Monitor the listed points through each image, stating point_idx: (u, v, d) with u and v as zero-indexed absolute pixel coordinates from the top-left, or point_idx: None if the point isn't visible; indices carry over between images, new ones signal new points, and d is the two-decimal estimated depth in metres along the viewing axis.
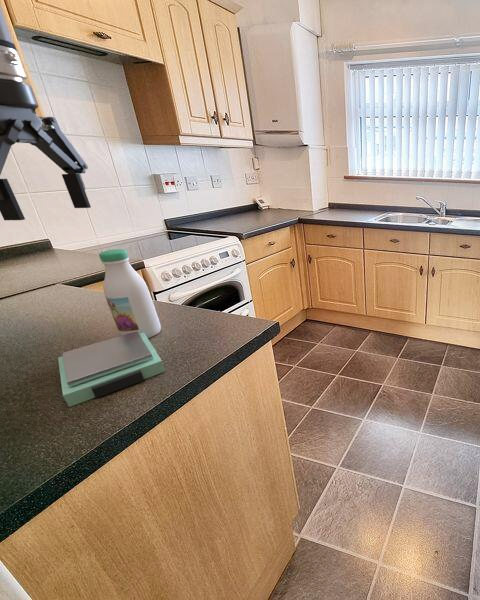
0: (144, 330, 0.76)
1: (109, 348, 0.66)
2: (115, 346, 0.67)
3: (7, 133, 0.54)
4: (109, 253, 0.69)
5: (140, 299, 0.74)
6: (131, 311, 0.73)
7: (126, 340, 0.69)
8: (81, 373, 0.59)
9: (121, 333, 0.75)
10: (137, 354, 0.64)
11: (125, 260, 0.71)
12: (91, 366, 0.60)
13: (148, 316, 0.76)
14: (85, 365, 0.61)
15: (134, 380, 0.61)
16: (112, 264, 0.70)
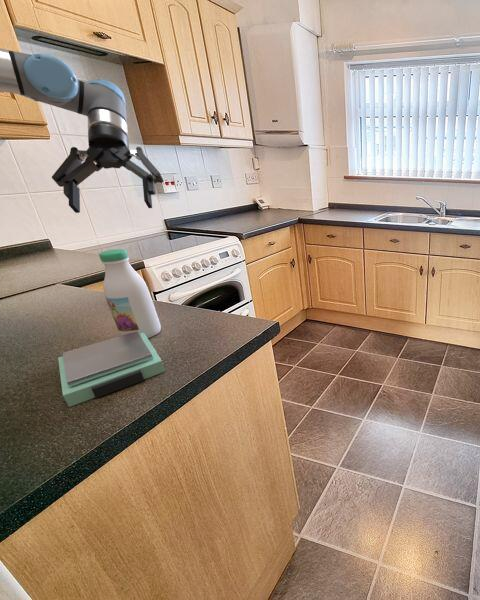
0: (144, 329, 0.76)
1: (109, 348, 0.66)
2: (115, 346, 0.67)
3: None
4: (109, 253, 0.69)
5: (139, 299, 0.74)
6: (131, 311, 0.73)
7: (126, 340, 0.69)
8: (81, 373, 0.59)
9: (121, 333, 0.75)
10: (137, 354, 0.64)
11: (125, 260, 0.71)
12: (91, 366, 0.60)
13: (148, 316, 0.76)
14: (85, 365, 0.61)
15: (134, 380, 0.61)
16: (112, 264, 0.70)
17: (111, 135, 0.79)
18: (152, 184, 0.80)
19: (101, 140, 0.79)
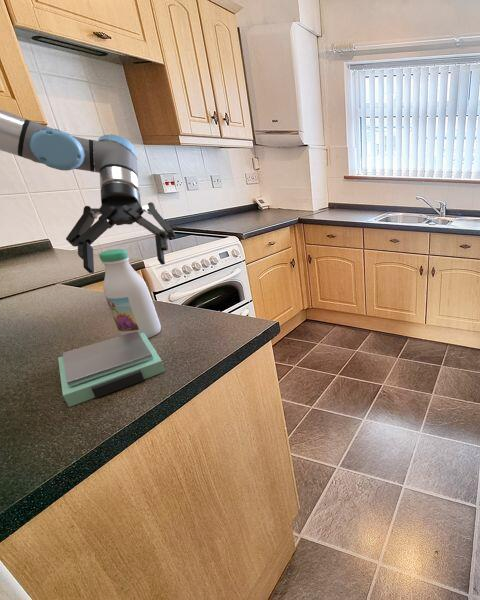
0: (144, 329, 0.76)
1: (109, 348, 0.66)
2: (115, 346, 0.67)
3: None
4: (109, 253, 0.69)
5: (139, 299, 0.74)
6: (131, 311, 0.73)
7: (126, 340, 0.69)
8: (81, 373, 0.59)
9: (121, 333, 0.75)
10: (137, 354, 0.64)
11: (125, 260, 0.71)
12: (91, 366, 0.60)
13: (148, 316, 0.76)
14: (85, 365, 0.61)
15: (134, 380, 0.61)
16: (112, 264, 0.70)
17: (124, 192, 0.80)
18: (164, 240, 0.81)
19: (114, 198, 0.80)
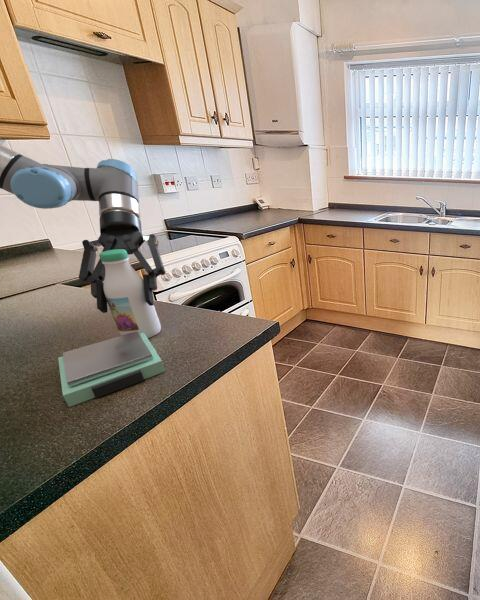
0: (144, 329, 0.76)
1: (109, 348, 0.66)
2: (115, 346, 0.67)
3: None
4: (109, 253, 0.69)
5: (140, 299, 0.74)
6: (131, 311, 0.73)
7: (126, 340, 0.69)
8: (81, 373, 0.59)
9: (121, 333, 0.75)
10: (137, 354, 0.64)
11: (125, 260, 0.71)
12: (91, 366, 0.60)
13: (148, 316, 0.76)
14: (85, 365, 0.61)
15: (134, 380, 0.61)
16: (112, 264, 0.70)
17: (124, 222, 0.76)
18: (153, 280, 0.76)
19: (114, 227, 0.76)
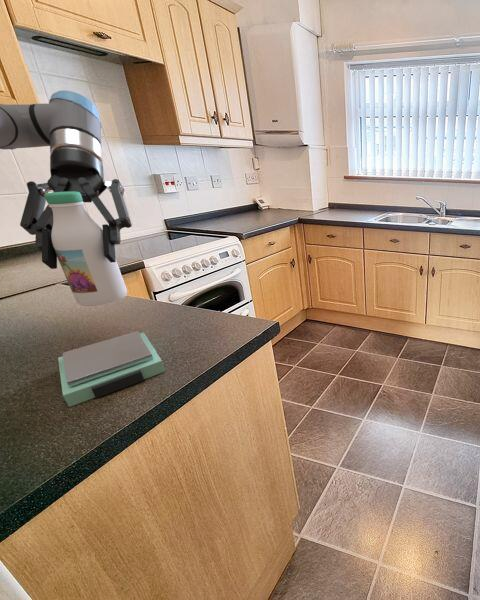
0: (104, 292, 0.63)
1: (109, 348, 0.66)
2: (115, 346, 0.67)
3: None
4: (57, 193, 0.56)
5: (98, 253, 0.61)
6: (86, 268, 0.60)
7: (126, 340, 0.69)
8: (81, 373, 0.59)
9: (75, 295, 0.61)
10: (137, 354, 0.64)
11: (78, 204, 0.58)
12: (91, 366, 0.60)
13: (110, 275, 0.63)
14: (85, 365, 0.61)
15: (134, 380, 0.61)
16: (61, 207, 0.57)
17: (80, 161, 0.63)
18: (116, 231, 0.62)
19: (67, 168, 0.63)
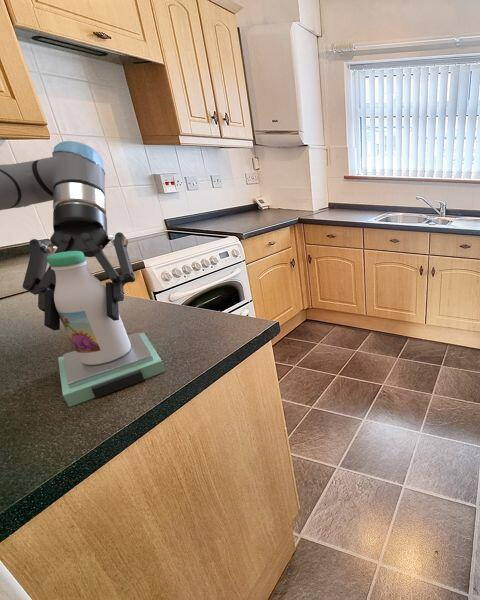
0: (108, 350, 0.61)
1: None
2: None
3: None
4: (59, 256, 0.55)
5: (101, 313, 0.59)
6: (89, 328, 0.59)
7: None
8: (82, 374, 0.59)
9: (78, 355, 0.60)
10: (138, 355, 0.64)
11: (81, 265, 0.57)
12: (92, 367, 0.61)
13: (113, 333, 0.62)
14: (86, 366, 0.61)
15: (134, 380, 0.61)
16: (63, 270, 0.56)
17: (83, 217, 0.62)
18: (119, 288, 0.61)
19: (70, 223, 0.62)
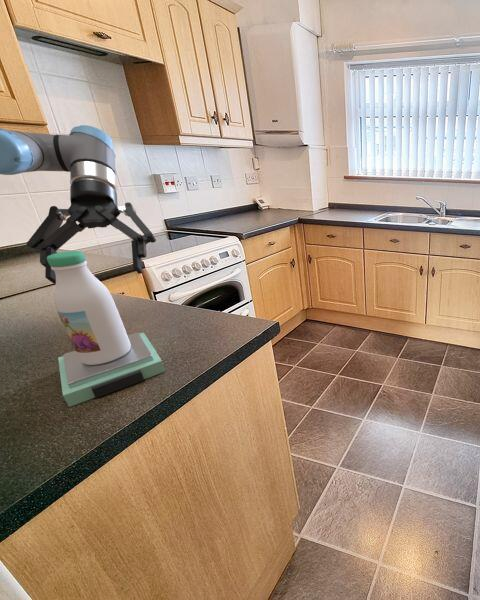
0: (107, 350, 0.61)
1: None
2: None
3: None
4: (59, 256, 0.55)
5: (101, 313, 0.59)
6: (89, 328, 0.59)
7: None
8: (82, 374, 0.59)
9: (78, 355, 0.60)
10: (138, 355, 0.64)
11: (81, 265, 0.57)
12: (92, 367, 0.61)
13: (113, 333, 0.62)
14: (86, 366, 0.61)
15: (134, 380, 0.61)
16: (63, 270, 0.56)
17: (97, 191, 0.70)
18: (143, 246, 0.71)
19: (85, 197, 0.70)
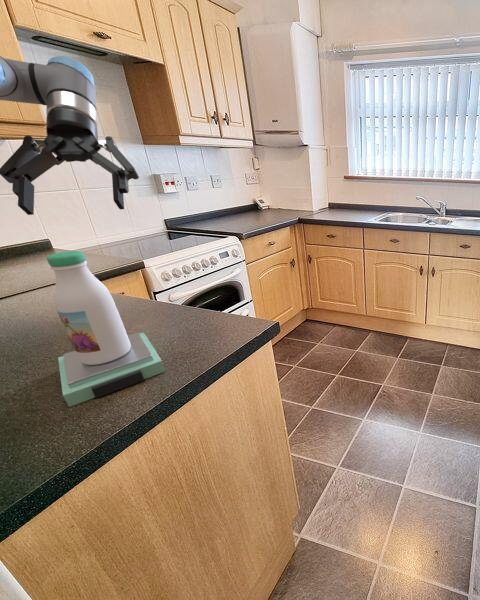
0: (107, 350, 0.61)
1: None
2: None
3: None
4: (59, 256, 0.55)
5: (101, 313, 0.59)
6: (89, 328, 0.59)
7: None
8: (82, 374, 0.59)
9: (78, 355, 0.60)
10: (138, 355, 0.64)
11: (81, 265, 0.57)
12: (92, 367, 0.61)
13: (113, 333, 0.62)
14: (86, 366, 0.61)
15: (134, 380, 0.61)
16: (63, 270, 0.56)
17: (75, 121, 0.66)
18: (124, 181, 0.67)
19: (62, 127, 0.66)
